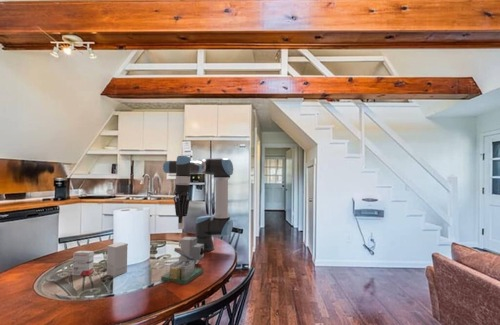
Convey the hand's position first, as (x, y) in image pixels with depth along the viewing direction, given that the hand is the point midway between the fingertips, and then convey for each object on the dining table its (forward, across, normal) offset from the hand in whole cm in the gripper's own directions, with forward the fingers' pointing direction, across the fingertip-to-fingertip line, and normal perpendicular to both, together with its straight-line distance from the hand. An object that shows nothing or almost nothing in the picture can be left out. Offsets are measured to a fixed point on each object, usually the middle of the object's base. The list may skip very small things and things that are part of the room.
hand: (181, 228), depth 153 cm
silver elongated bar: (+14, 0, +2) cm, 14 cm away
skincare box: (+25, +10, -33) cm, 42 cm away
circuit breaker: (+24, -20, -4) cm, 31 cm away
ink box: (+25, +17, -48) cm, 57 cm away
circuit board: (+25, 0, +2) cm, 25 cm away
